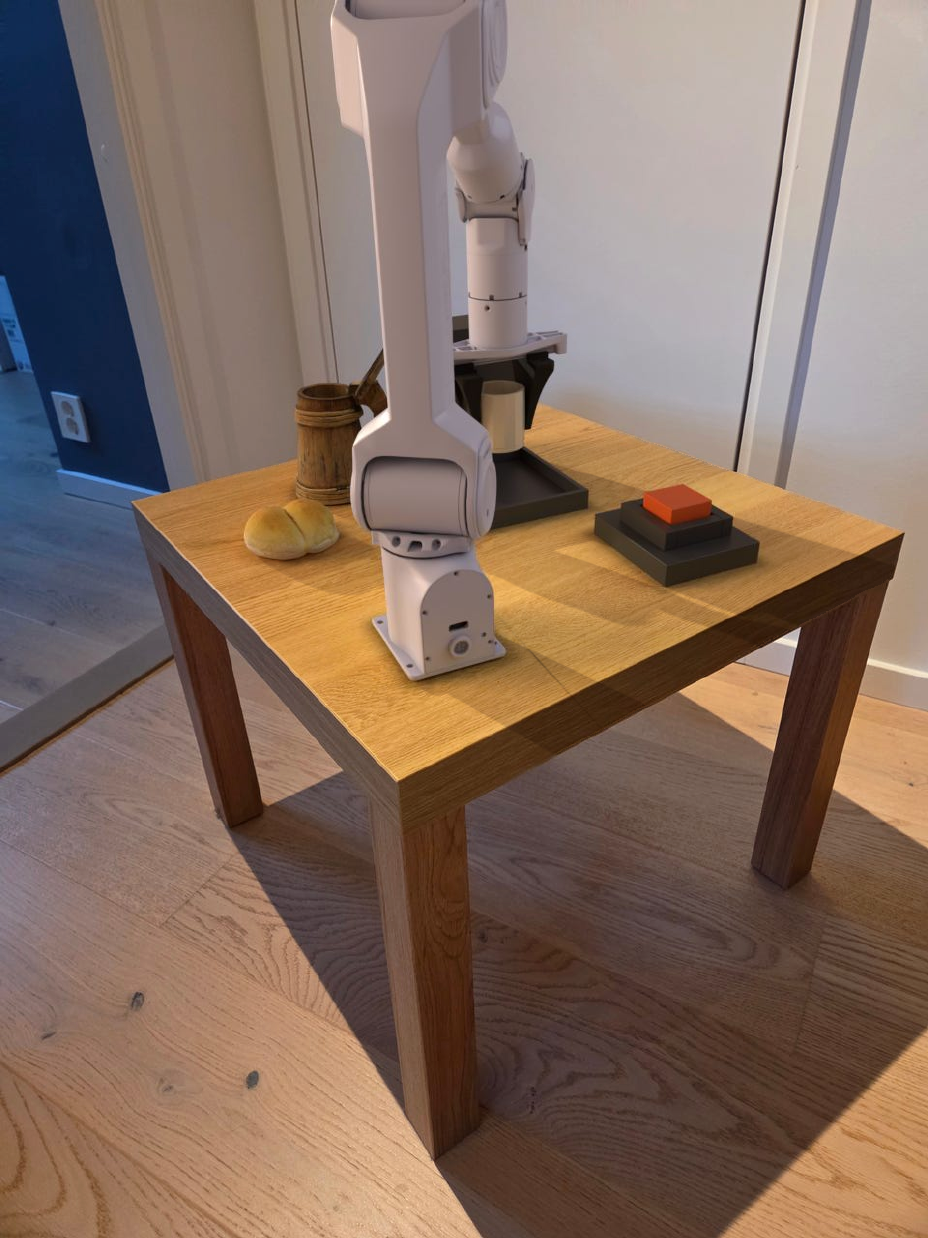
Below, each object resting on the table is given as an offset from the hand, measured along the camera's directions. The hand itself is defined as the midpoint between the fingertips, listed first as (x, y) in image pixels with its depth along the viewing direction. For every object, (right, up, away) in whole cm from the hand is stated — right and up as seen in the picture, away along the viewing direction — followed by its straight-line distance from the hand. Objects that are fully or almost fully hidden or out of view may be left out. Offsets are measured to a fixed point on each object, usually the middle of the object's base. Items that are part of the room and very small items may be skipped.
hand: (499, 431), depth 89 cm
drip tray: (0, -6, +4) cm, 7 cm away
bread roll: (-20, -12, -4) cm, 24 cm away
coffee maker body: (-4, -1, +13) cm, 13 cm away
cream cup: (0, -1, +1) cm, 1 cm away
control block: (+16, -13, -8) cm, 22 cm away
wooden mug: (-16, -5, +6) cm, 18 cm away
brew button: (+16, -10, -10) cm, 21 cm away
